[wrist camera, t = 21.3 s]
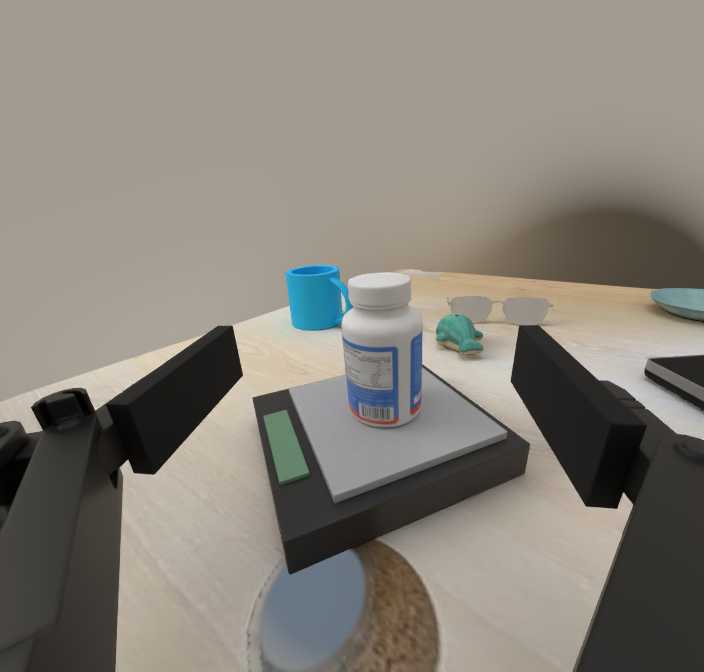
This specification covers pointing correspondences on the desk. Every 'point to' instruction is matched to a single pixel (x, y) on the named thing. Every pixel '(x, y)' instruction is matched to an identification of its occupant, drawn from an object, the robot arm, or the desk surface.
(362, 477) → the scale
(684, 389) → the external hard drive
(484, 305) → the eyeglasses
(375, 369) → the pill bottle
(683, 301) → the saucer
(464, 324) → the whale figurine
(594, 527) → the desk surface
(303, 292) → the mug
